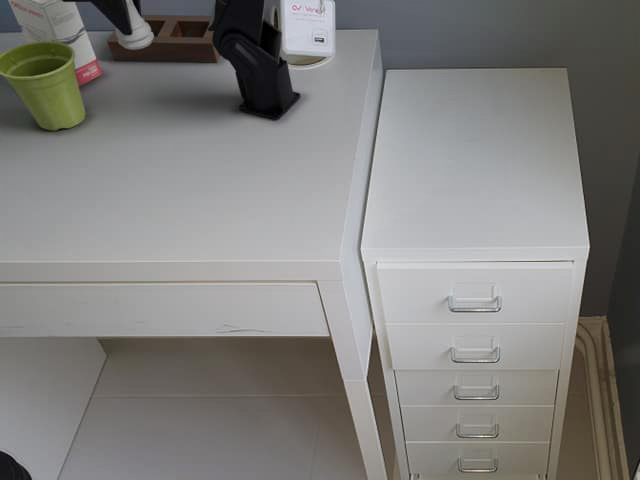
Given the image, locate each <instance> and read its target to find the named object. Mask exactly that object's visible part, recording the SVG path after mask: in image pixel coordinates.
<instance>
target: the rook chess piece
mask: <svg viewBox="0 0 640 480" xmlns="http://www.w3.org/2000/svg"><path fill="white" fill-rule="evenodd" d="M126 2H127V7H128V11H129V16H130V20H131V26H132V31H133V33H132V35H123V34H122V33H121V32H120V31H119V30H118V29H117V28H116V27H115V29H116V30H115V29H114V30H115V31H116V36H117V37H118V42H119V44H120V45H122V46H123V47H125V48H126V49H130V50H137V49H142V48H145V47H147V46H148V45H150V44H151V43H152V40H153V38H154V35H153V33H152V32H151V28H150V26H149V24H148V23H146V22H145V21H144V19H143V18H141V16H140V15H139V14H138V12H137V10H136V8H135V6H134V4H133V1H132V0H126Z"/></svg>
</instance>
